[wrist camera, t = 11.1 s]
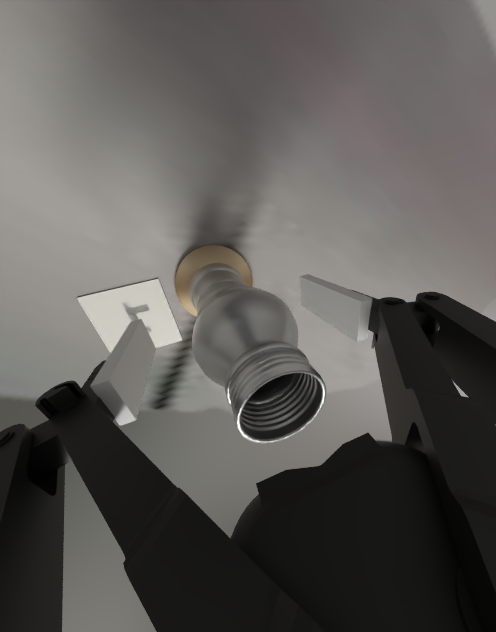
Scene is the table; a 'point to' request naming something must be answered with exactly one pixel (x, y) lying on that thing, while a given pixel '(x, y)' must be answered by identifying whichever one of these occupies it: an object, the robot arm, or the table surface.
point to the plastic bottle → (253, 355)
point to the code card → (132, 313)
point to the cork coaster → (201, 259)
